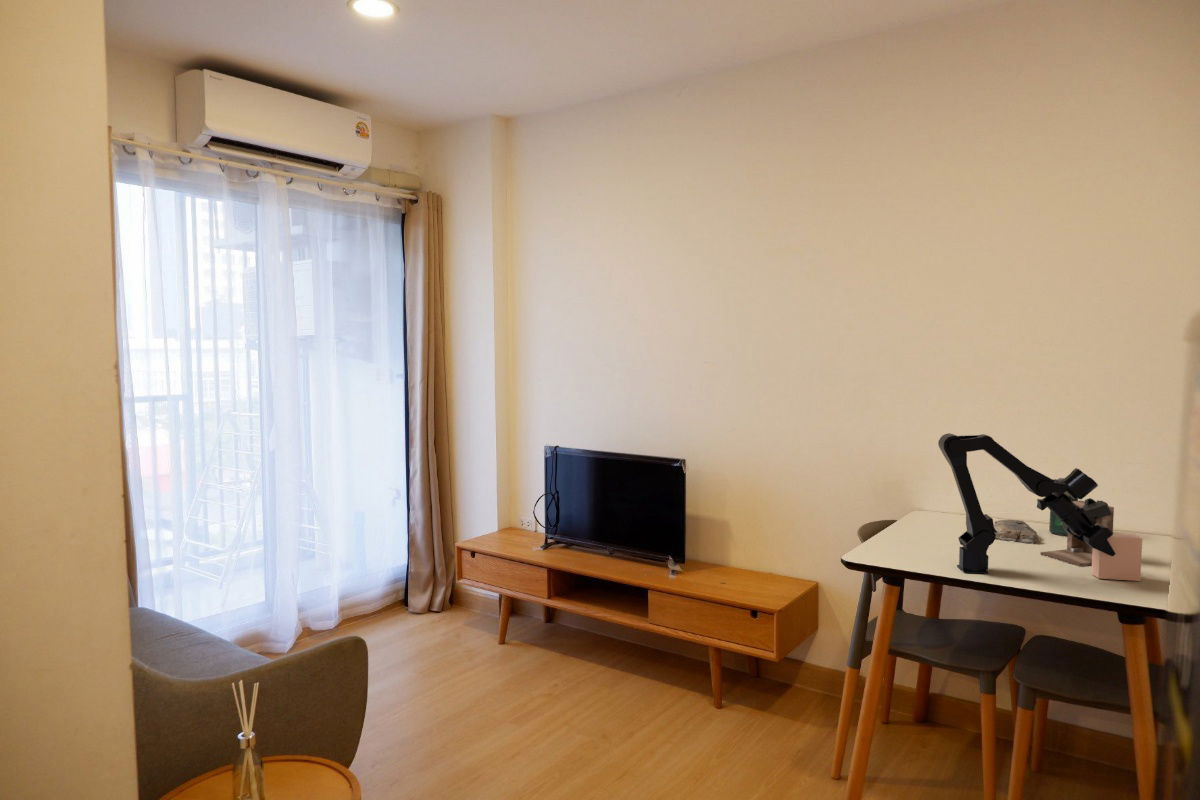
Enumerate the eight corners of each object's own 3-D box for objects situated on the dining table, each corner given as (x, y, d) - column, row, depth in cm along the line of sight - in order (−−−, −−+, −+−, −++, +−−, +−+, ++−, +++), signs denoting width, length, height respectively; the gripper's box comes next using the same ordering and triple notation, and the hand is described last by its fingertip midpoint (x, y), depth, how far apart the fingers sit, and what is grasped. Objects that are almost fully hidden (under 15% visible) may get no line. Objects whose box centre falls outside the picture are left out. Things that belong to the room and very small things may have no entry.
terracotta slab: (1098, 578, 202) (1100, 536, 201) (1091, 573, 206) (1093, 532, 206) (1140, 580, 200) (1142, 538, 199) (1132, 576, 204) (1134, 534, 204)
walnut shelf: (1079, 566, 214) (1081, 511, 213) (1040, 554, 227) (1042, 502, 226) (1115, 562, 219) (1118, 508, 218) (1075, 550, 231) (1077, 499, 230)
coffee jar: (1075, 537, 247) (1077, 482, 246) (1048, 534, 252) (1049, 479, 251) (1077, 532, 255) (1079, 478, 254) (1050, 528, 260) (1052, 475, 259)
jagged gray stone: (992, 528, 263) (987, 539, 246) (993, 514, 263) (988, 524, 246) (1038, 533, 256) (1036, 545, 239) (1039, 519, 255) (1037, 530, 238)
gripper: (1105, 497, 194) (1152, 541, 192) (1076, 485, 212) (1118, 525, 211) (1070, 525, 196) (1116, 570, 195) (1045, 511, 214) (1086, 551, 213)
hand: (1109, 552), depth 203 cm, fingers closed on terracotta slab, 4 cm apart
